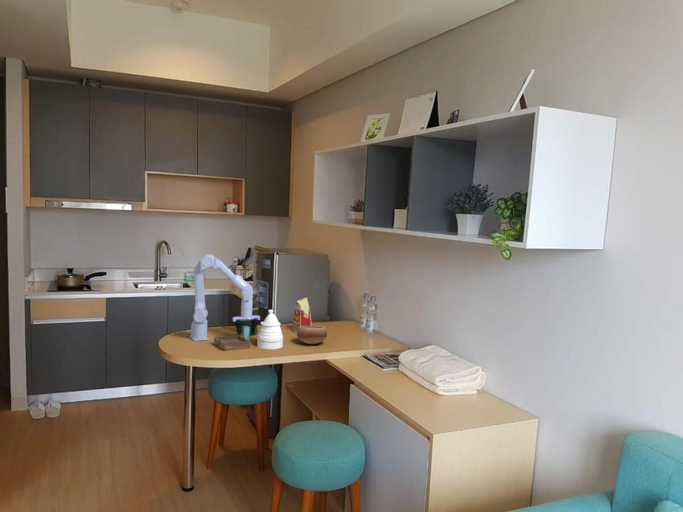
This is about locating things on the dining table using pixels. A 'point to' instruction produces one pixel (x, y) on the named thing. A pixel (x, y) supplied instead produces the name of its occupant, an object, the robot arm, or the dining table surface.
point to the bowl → (311, 334)
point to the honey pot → (270, 333)
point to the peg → (245, 332)
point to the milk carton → (301, 314)
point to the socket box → (232, 342)
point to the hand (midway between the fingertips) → (245, 334)
